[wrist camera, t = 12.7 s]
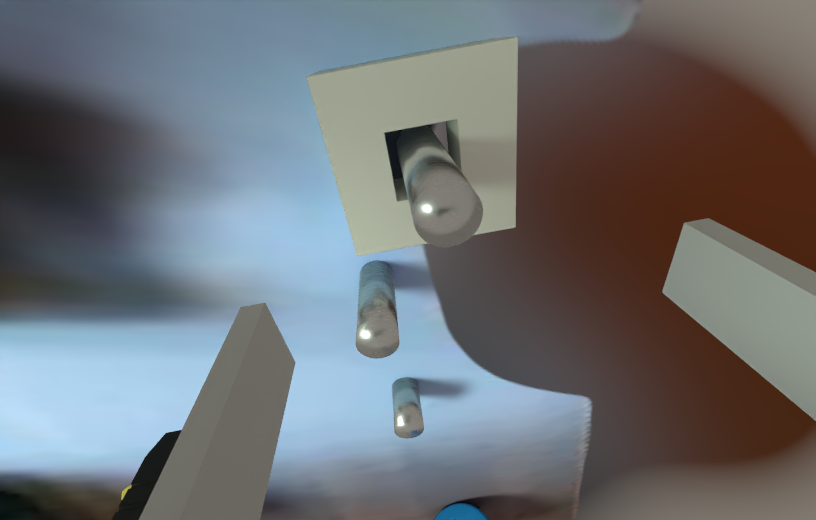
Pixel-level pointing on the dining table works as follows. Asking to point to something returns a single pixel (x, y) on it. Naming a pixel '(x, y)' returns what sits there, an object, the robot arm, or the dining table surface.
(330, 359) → the dining table surface
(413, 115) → the hole block
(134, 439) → the dining table surface
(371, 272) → the medium pin
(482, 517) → the alarm clock
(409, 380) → the short pin
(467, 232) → the long pin
